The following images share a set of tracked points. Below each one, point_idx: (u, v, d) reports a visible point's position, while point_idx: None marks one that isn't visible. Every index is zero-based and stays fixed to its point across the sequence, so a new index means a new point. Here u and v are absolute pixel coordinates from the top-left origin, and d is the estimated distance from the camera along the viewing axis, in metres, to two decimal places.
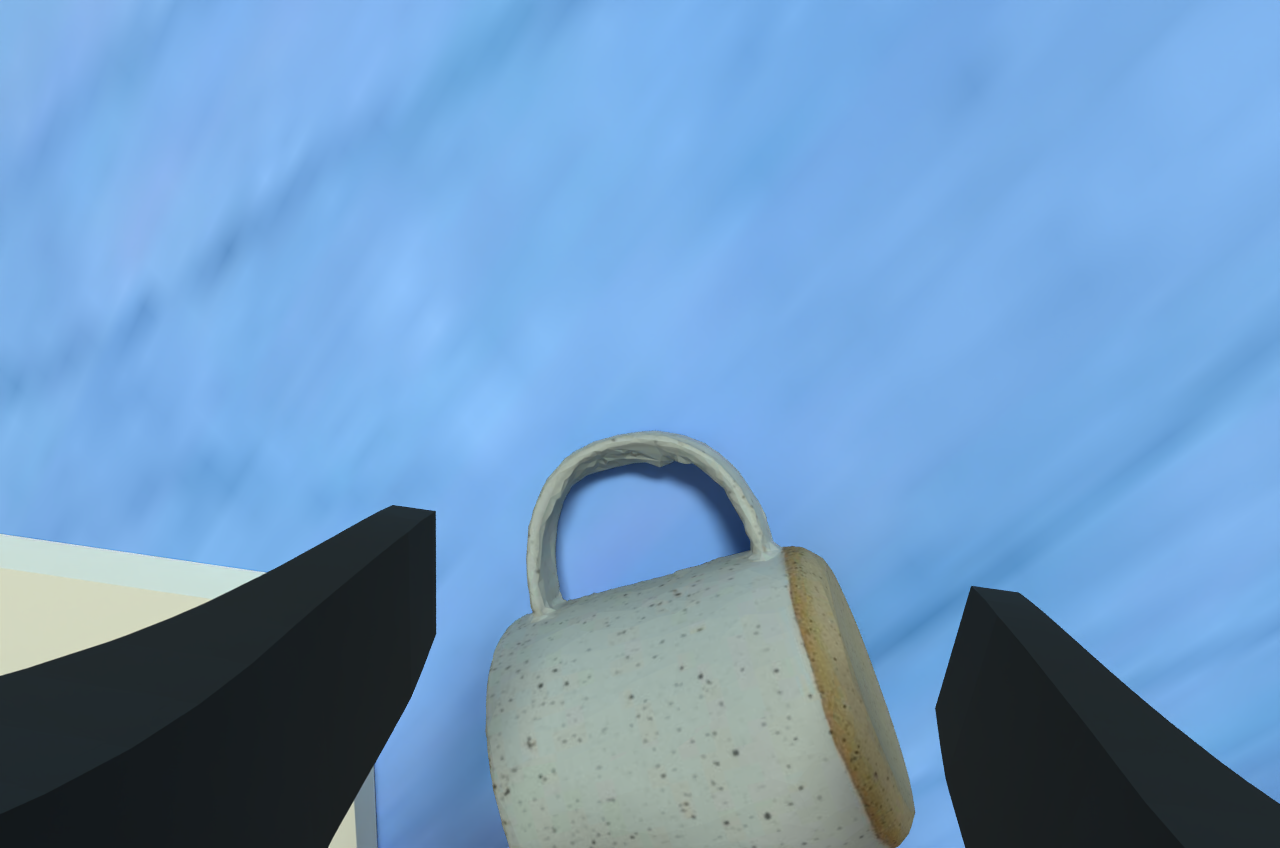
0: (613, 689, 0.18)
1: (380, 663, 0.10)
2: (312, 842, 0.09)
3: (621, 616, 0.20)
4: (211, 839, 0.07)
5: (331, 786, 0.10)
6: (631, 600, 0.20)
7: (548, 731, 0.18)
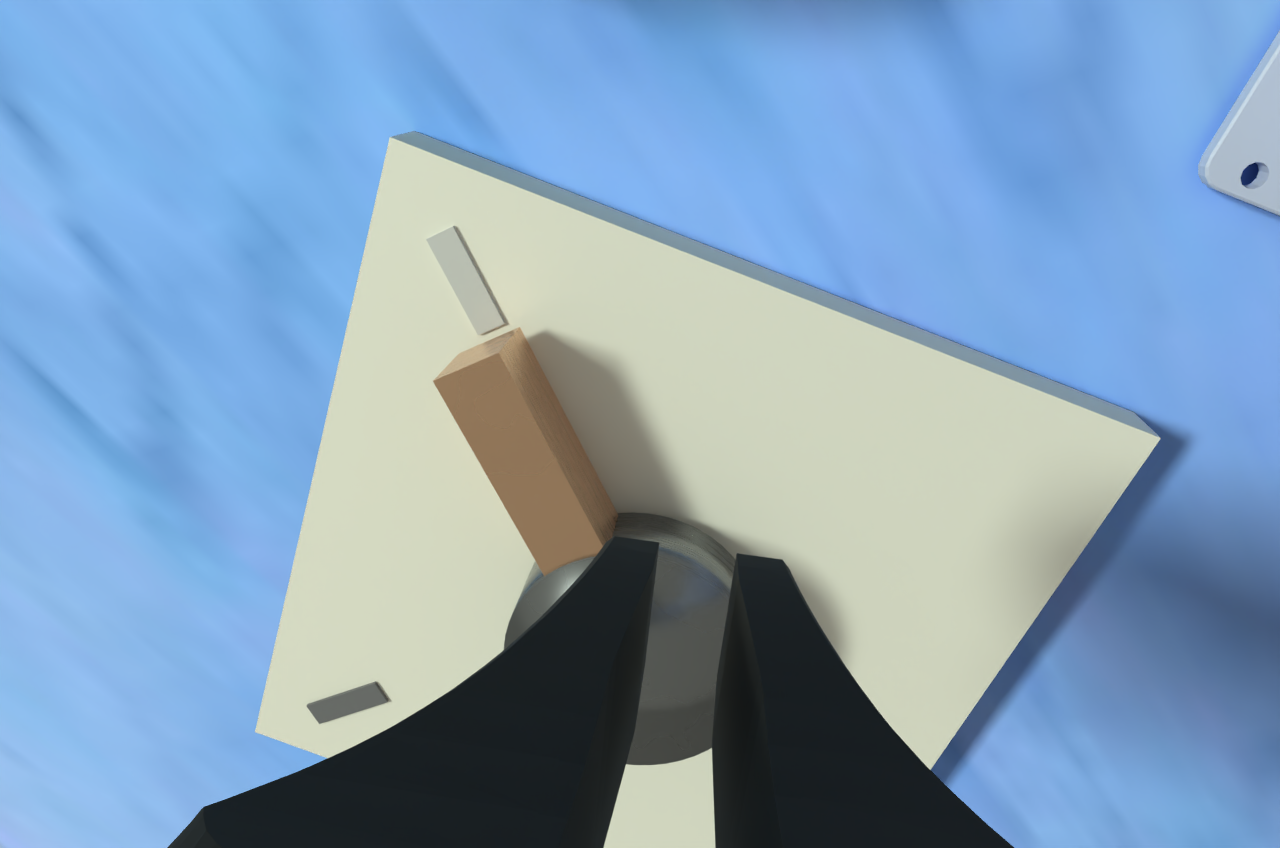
0: None
1: (629, 701, 0.10)
2: None
3: None
4: None
5: (600, 830, 0.09)
6: None
7: None
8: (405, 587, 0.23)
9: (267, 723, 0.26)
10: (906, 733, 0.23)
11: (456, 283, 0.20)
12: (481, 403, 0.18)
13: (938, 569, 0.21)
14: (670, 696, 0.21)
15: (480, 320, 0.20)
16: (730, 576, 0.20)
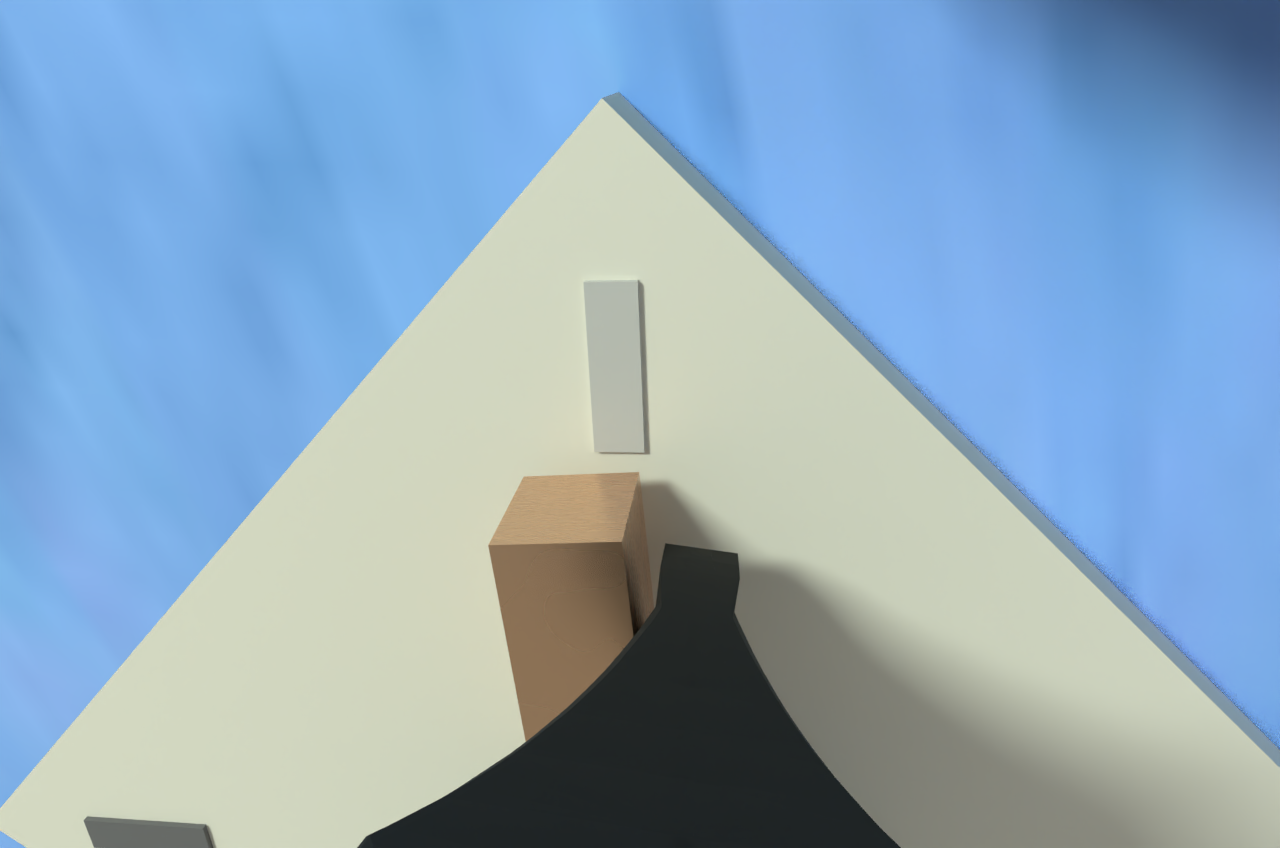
0: None
1: None
2: None
3: None
4: None
5: None
6: None
7: None
8: (308, 729, 0.15)
9: (12, 819, 0.17)
10: None
11: (596, 365, 0.12)
12: (556, 604, 0.10)
13: None
14: None
15: (609, 432, 0.12)
16: None
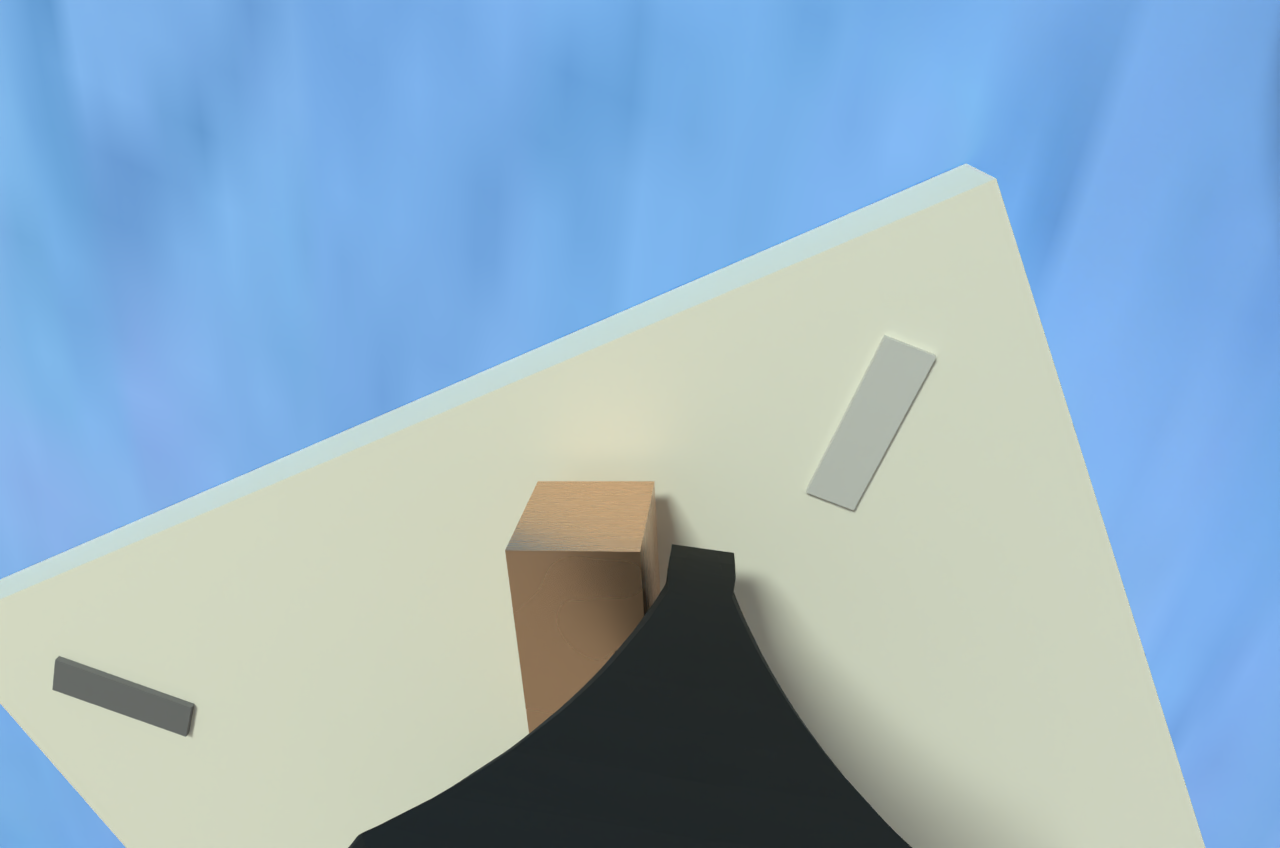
0: None
1: None
2: None
3: None
4: None
5: None
6: None
7: None
8: (361, 648, 0.14)
9: None
10: None
11: (851, 414, 0.12)
12: (570, 610, 0.10)
13: None
14: None
15: (829, 480, 0.12)
16: None
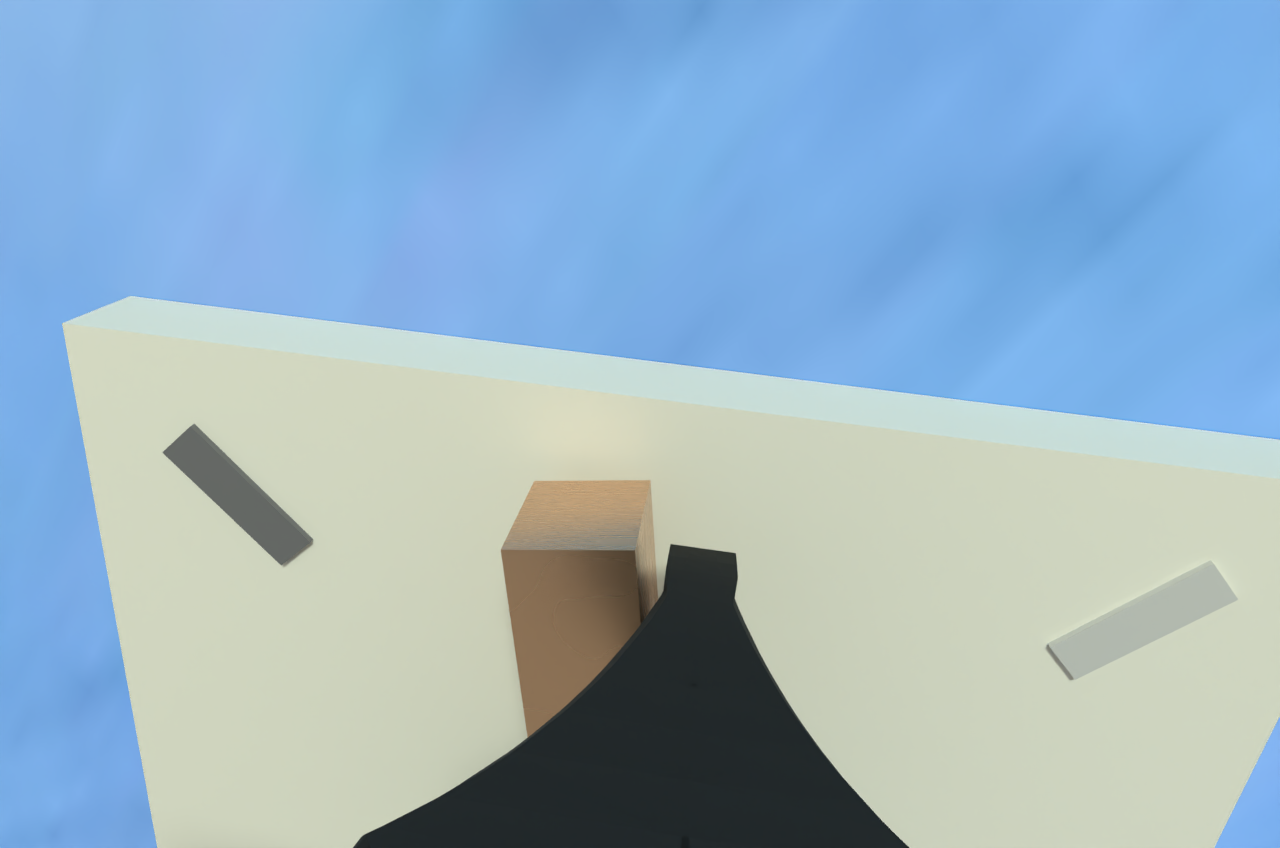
0: None
1: None
2: None
3: None
4: None
5: None
6: None
7: None
8: None
9: (99, 347, 0.12)
10: None
11: (1132, 605, 0.12)
12: (566, 609, 0.10)
13: None
14: None
15: (1075, 647, 0.12)
16: None
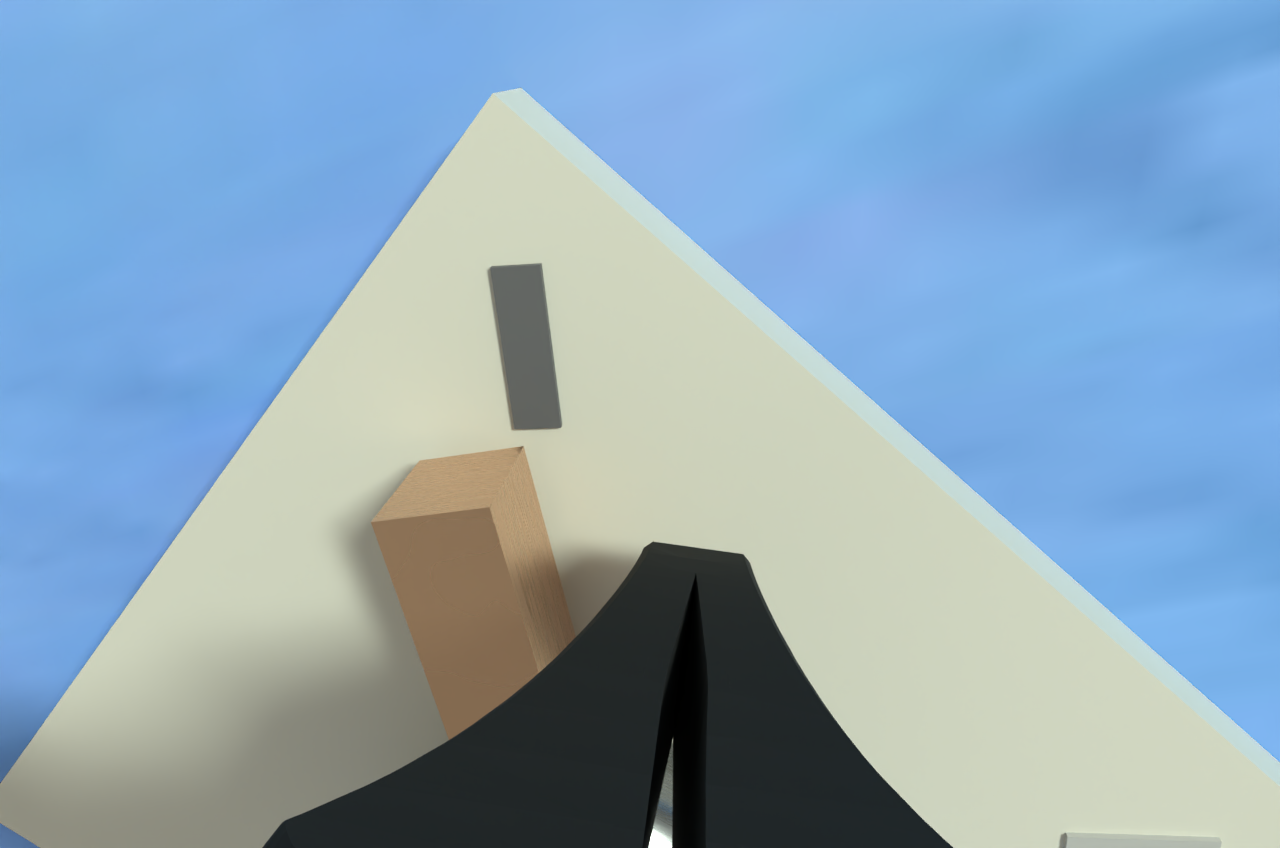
0: None
1: (672, 707, 0.10)
2: None
3: None
4: None
5: (646, 837, 0.09)
6: None
7: None
8: None
9: (510, 139, 0.11)
10: None
11: (1143, 838, 0.15)
12: (441, 571, 0.11)
13: None
14: None
15: (1083, 845, 0.15)
16: None
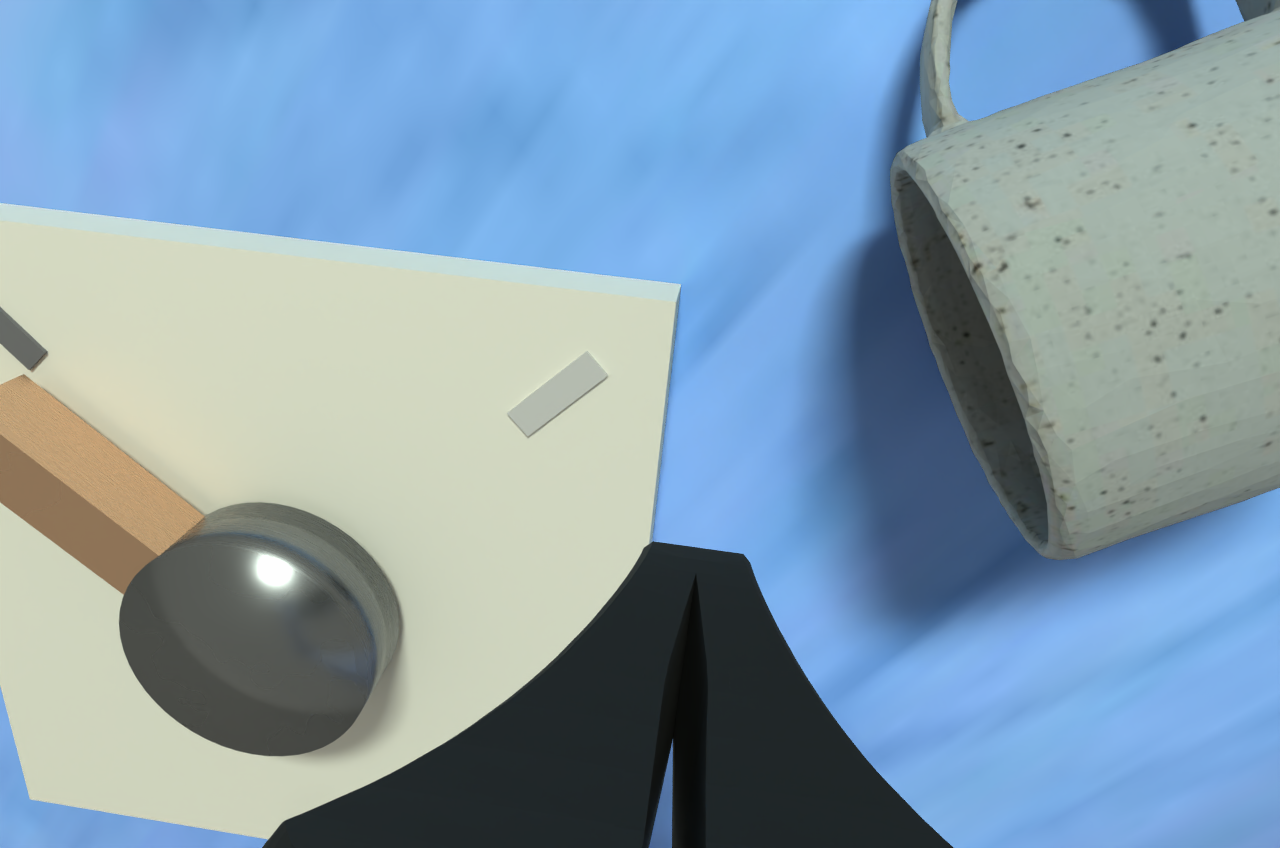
0: (1155, 124, 0.12)
1: (672, 708, 0.10)
2: None
3: (1110, 79, 0.14)
4: None
5: (646, 837, 0.09)
6: (1107, 75, 0.14)
7: (1059, 185, 0.12)
8: (189, 372, 0.20)
9: None
10: (283, 814, 0.26)
11: (550, 383, 0.19)
12: None
13: None
14: (294, 673, 0.20)
15: (522, 413, 0.20)
16: (301, 538, 0.20)
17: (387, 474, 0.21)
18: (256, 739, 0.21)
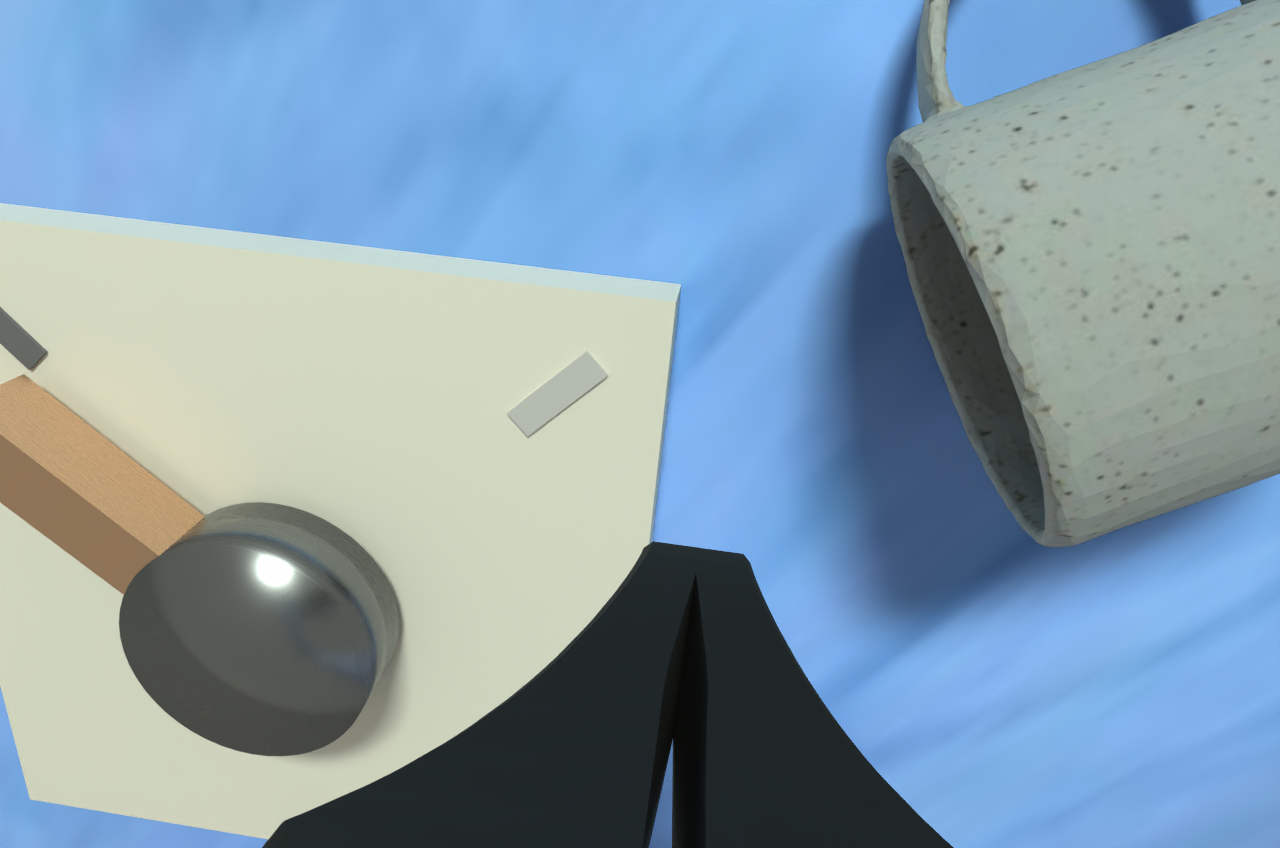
0: (1152, 106, 0.12)
1: (672, 708, 0.10)
2: None
3: (1107, 62, 0.14)
4: None
5: (646, 837, 0.09)
6: (1104, 59, 0.14)
7: (1055, 168, 0.12)
8: (189, 372, 0.20)
9: None
10: (283, 814, 0.26)
11: (550, 383, 0.19)
12: None
13: None
14: (294, 673, 0.20)
15: (522, 413, 0.20)
16: (301, 538, 0.20)
17: (387, 474, 0.21)
18: (256, 739, 0.21)
